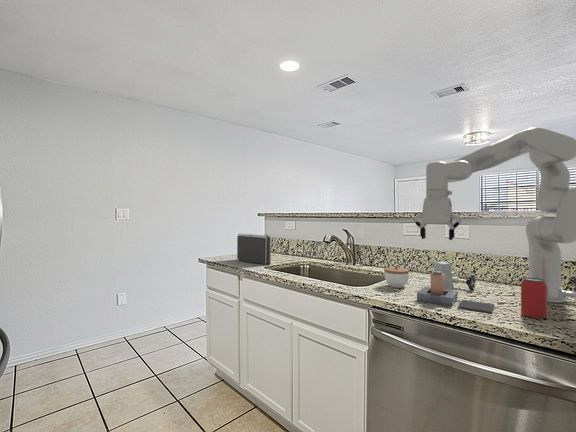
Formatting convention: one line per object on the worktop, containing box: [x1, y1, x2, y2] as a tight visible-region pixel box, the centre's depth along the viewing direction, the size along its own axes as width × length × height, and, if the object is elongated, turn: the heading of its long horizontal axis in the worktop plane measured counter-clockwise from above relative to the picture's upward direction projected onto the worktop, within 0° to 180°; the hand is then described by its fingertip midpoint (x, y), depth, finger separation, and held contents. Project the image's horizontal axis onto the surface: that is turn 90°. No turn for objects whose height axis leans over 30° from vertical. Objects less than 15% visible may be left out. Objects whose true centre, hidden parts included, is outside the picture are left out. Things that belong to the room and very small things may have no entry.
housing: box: [416, 286, 458, 307], centre depth 119 cm, size 12×12×3 cm
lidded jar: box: [383, 265, 410, 289], centre depth 141 cm, size 11×11×9 cm
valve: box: [452, 271, 477, 291], centre depth 137 cm, size 7×7×12 cm
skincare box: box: [433, 261, 453, 290], centre depth 132 cm, size 6×4×12 cm
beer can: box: [520, 276, 548, 320], centre depth 100 cm, size 7×7×12 cm
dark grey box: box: [236, 232, 272, 265], centre depth 217 cm, size 35×22×20 cm, turn 47°
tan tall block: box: [430, 270, 444, 295], centre depth 119 cm, size 5×5×11 cm
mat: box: [457, 299, 495, 314], centre depth 110 cm, size 10×10×1 cm
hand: (436, 239), depth 119 cm, fingers open, 9 cm apart
